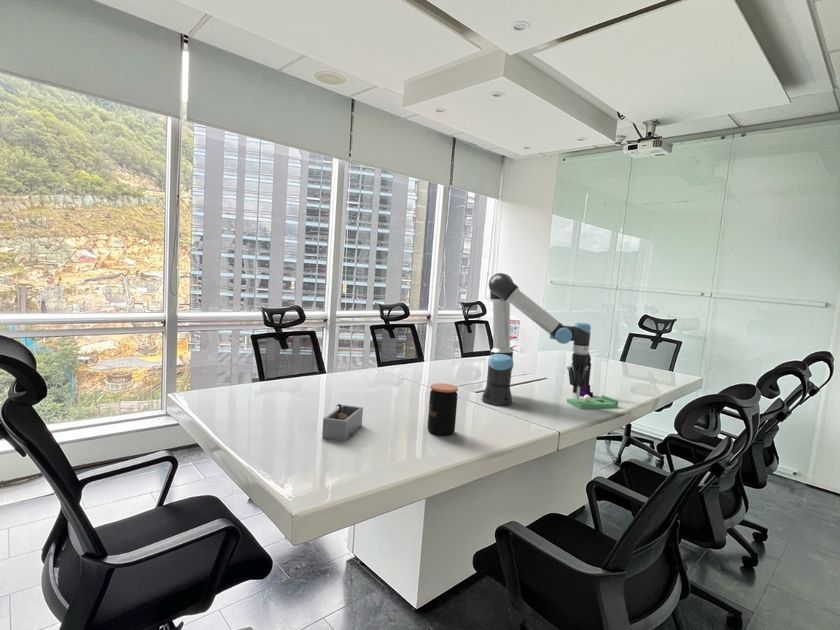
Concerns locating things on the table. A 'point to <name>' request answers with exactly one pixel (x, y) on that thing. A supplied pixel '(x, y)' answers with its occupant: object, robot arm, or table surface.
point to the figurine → (342, 416)
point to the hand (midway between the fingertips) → (576, 398)
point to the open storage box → (342, 423)
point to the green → (594, 403)
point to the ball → (587, 398)
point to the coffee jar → (442, 409)
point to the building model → (586, 388)
